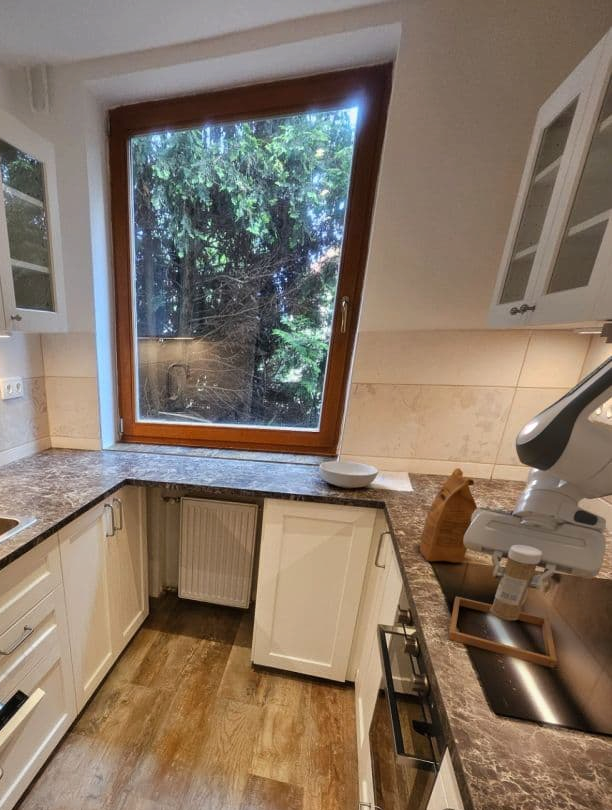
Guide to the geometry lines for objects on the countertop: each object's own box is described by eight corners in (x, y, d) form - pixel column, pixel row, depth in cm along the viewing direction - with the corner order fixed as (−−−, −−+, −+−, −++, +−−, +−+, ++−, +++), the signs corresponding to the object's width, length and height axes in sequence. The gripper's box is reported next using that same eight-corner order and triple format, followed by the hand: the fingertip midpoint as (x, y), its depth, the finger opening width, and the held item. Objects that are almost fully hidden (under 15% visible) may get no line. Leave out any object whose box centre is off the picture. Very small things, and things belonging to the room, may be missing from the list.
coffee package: (456, 548, 126) (479, 468, 117) (466, 567, 116) (492, 481, 107) (415, 543, 129) (434, 464, 120) (421, 562, 119) (442, 477, 110)
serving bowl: (368, 496, 168) (372, 477, 165) (310, 487, 178) (312, 469, 175) (379, 482, 183) (383, 465, 181) (325, 474, 194) (328, 458, 191)
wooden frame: (544, 629, 91) (549, 618, 90) (551, 673, 80) (556, 660, 78) (452, 606, 99) (455, 596, 98) (446, 643, 87) (450, 632, 86)
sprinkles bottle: (524, 617, 86) (548, 551, 81) (508, 623, 85) (532, 556, 79) (498, 606, 90) (521, 541, 85) (483, 611, 88) (505, 546, 83)
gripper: (477, 495, 90) (450, 557, 88) (619, 522, 78) (592, 595, 75) (476, 512, 95) (450, 571, 93) (609, 539, 83) (584, 608, 80)
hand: (515, 582), depth 84 cm, fingers closed on sprinkles bottle, 4 cm apart
